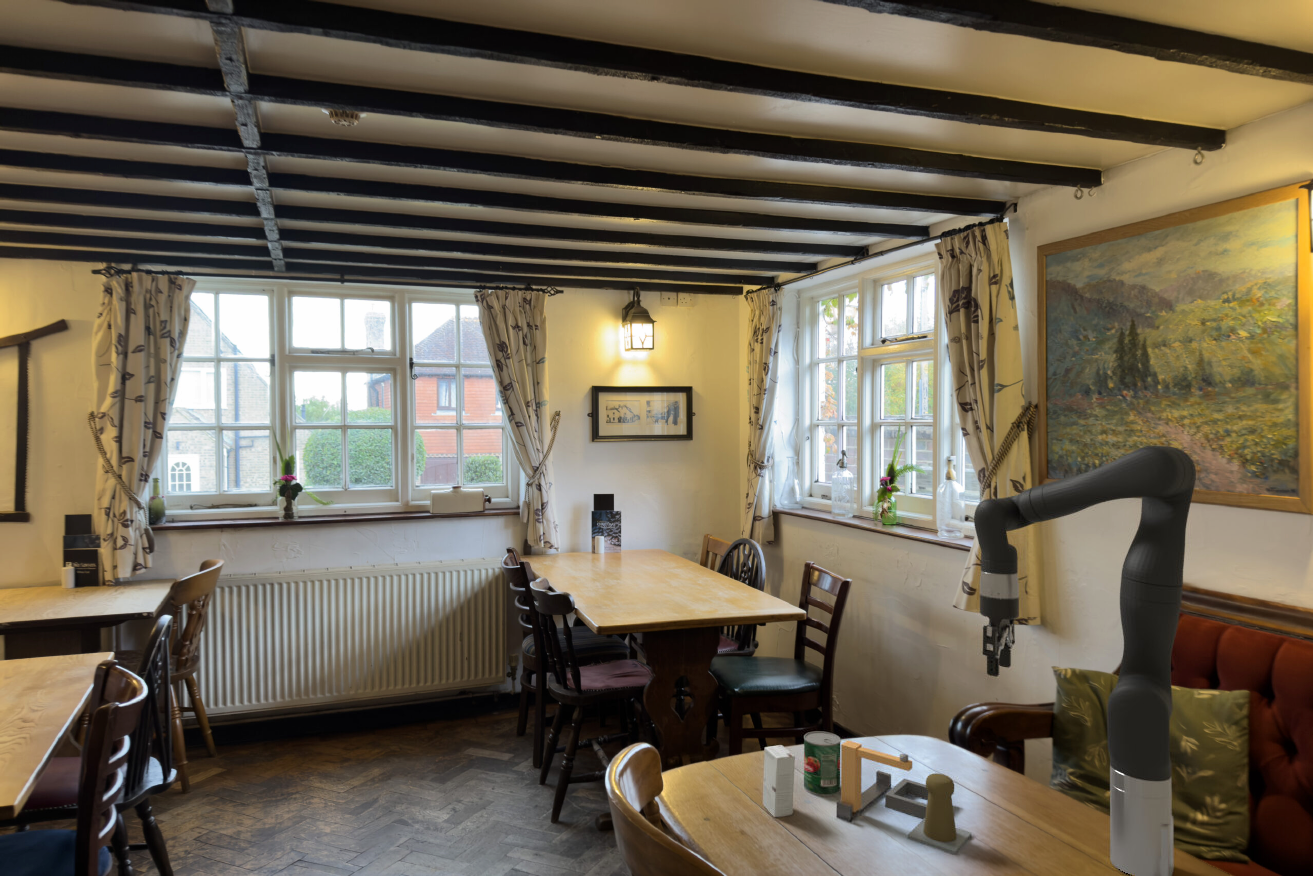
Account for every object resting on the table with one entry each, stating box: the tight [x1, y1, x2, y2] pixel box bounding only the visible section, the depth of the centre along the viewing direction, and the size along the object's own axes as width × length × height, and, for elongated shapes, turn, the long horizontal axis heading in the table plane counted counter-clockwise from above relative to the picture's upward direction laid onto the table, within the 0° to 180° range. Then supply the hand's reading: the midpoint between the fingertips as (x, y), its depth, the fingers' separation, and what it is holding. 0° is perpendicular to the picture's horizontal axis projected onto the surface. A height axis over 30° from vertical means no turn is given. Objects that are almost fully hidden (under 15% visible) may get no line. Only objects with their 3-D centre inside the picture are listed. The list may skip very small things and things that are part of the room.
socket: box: [884, 778, 929, 820], centre depth 157 cm, size 10×10×2 cm
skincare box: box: [762, 744, 796, 818], centre depth 154 cm, size 6×4×12 cm
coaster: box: [907, 818, 972, 856], centre depth 144 cm, size 9×9×1 cm
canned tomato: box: [803, 730, 842, 797], centre depth 164 cm, size 8×8×11 cm
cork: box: [923, 772, 957, 842], centre depth 144 cm, size 6×6×11 cm
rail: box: [836, 770, 892, 823], centre depth 158 cm, size 3×20×3 cm, turn 140°
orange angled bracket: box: [840, 740, 913, 812], centre depth 150 cm, size 14×3×14 cm, turn 50°
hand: (999, 671), depth 157 cm, fingers open, 8 cm apart
